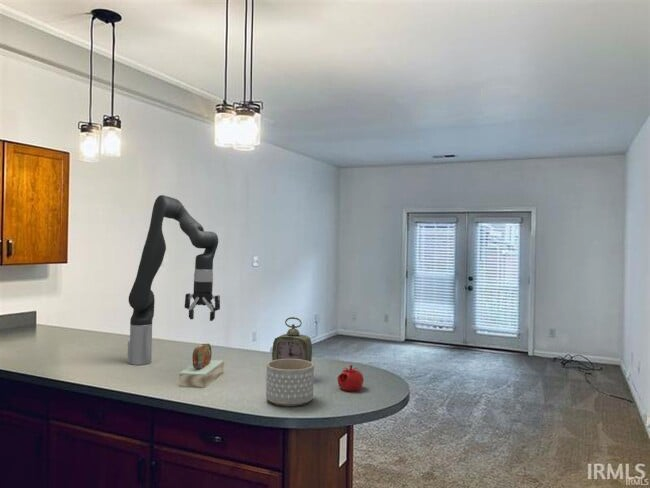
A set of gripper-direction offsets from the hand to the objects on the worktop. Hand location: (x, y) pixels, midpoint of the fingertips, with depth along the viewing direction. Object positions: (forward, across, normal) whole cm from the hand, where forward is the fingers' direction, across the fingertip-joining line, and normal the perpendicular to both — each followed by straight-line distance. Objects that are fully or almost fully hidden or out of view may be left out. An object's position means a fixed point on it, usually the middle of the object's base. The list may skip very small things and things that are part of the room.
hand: (201, 319), depth 206 cm
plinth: (+23, +3, -5) cm, 23 cm away
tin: (+18, +3, -5) cm, 19 cm away
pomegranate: (+22, +62, -5) cm, 66 cm away
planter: (+22, +43, -24) cm, 54 cm away
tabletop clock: (+22, +38, +3) cm, 44 cm away
